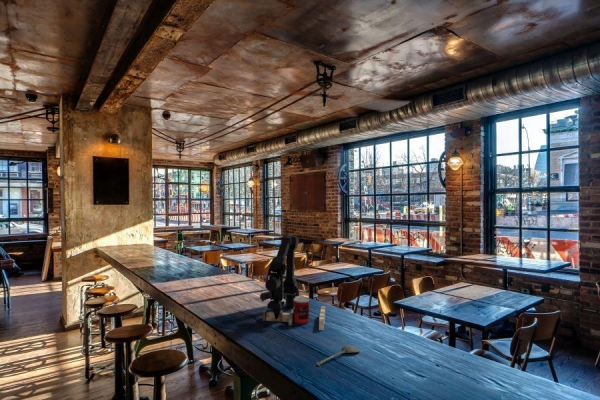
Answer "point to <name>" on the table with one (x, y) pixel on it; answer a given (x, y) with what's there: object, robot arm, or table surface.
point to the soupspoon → (344, 350)
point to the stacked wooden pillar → (282, 316)
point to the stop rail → (322, 318)
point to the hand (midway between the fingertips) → (276, 317)
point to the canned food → (301, 310)
